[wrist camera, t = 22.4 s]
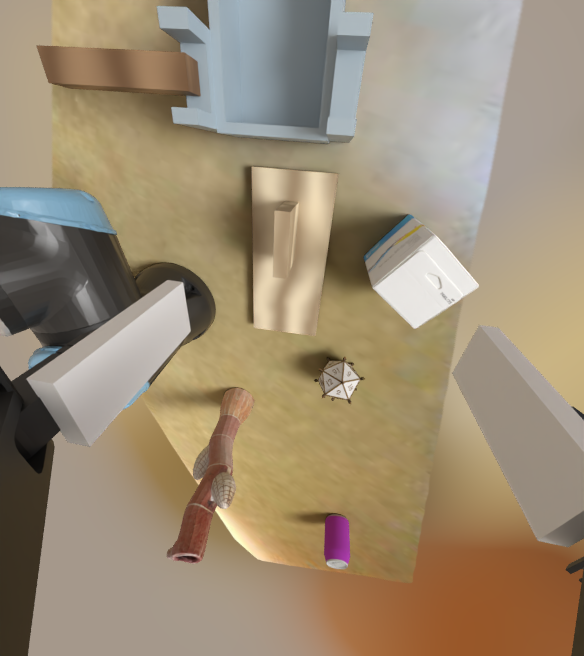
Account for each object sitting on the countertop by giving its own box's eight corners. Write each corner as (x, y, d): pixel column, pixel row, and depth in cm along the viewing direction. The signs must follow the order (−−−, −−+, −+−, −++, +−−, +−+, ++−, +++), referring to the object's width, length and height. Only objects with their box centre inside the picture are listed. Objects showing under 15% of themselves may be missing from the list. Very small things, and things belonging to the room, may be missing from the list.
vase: (226, 408, 65) (157, 565, 40) (218, 386, 61) (136, 545, 36) (267, 409, 63) (222, 575, 38) (262, 387, 59) (207, 555, 34)
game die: (347, 357, 56) (371, 400, 51) (310, 373, 56) (330, 418, 51) (346, 338, 48) (374, 387, 43) (303, 357, 48) (326, 409, 43)
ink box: (361, 256, 41) (369, 287, 31) (409, 212, 36) (436, 231, 27) (397, 292, 43) (415, 331, 33) (446, 254, 39) (483, 286, 29)
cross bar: (70, 88, 27) (48, 82, 25) (60, 54, 26) (36, 45, 24) (200, 96, 26) (188, 91, 24) (197, 61, 25) (184, 52, 23)
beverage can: (330, 524, 90) (330, 570, 80) (321, 513, 87) (319, 559, 77) (352, 523, 88) (354, 570, 78) (343, 511, 84) (344, 559, 74)
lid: (256, 322, 50) (240, 354, 42) (255, 166, 36) (231, 168, 28) (316, 330, 49) (311, 364, 41) (338, 173, 35) (338, 177, 27)
